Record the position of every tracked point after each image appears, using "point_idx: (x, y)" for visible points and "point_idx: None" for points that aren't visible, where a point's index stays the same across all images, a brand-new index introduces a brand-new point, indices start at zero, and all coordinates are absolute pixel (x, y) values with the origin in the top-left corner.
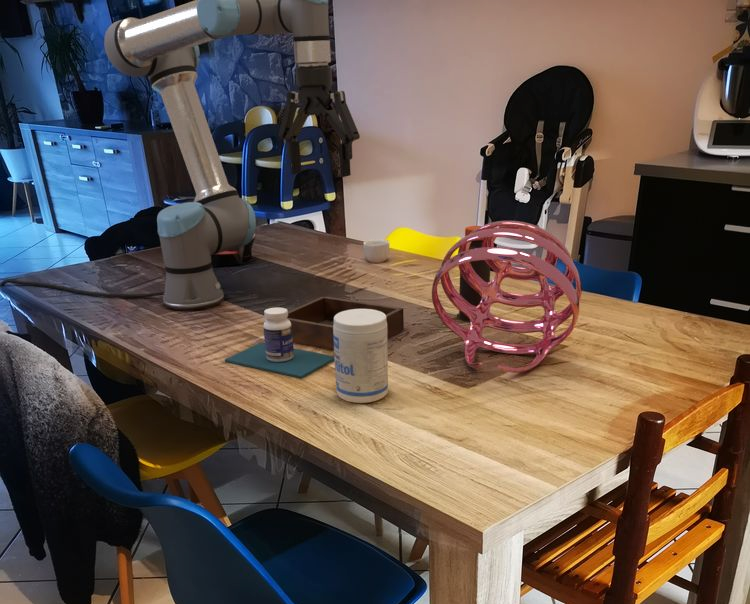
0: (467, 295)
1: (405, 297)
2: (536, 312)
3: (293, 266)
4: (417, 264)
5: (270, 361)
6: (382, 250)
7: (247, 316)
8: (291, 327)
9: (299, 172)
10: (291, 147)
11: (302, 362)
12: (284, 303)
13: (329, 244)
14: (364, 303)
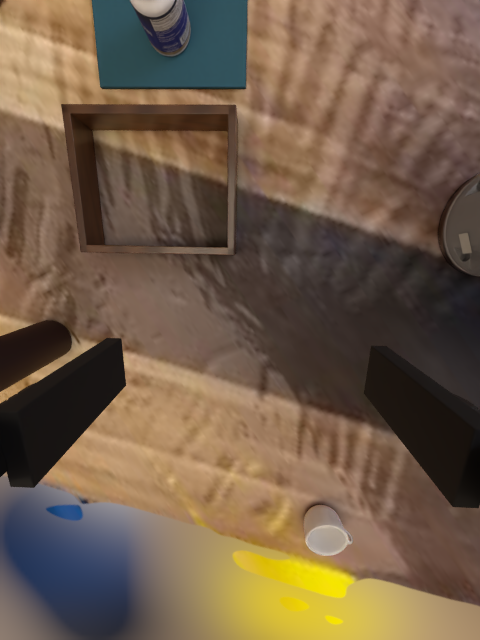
0: (23, 330)
1: (183, 380)
2: None
3: None
4: (255, 515)
5: None
6: (308, 523)
7: (353, 201)
8: (132, 5)
9: (366, 380)
10: (456, 409)
11: (126, 32)
12: (334, 285)
13: (438, 564)
14: (148, 247)
